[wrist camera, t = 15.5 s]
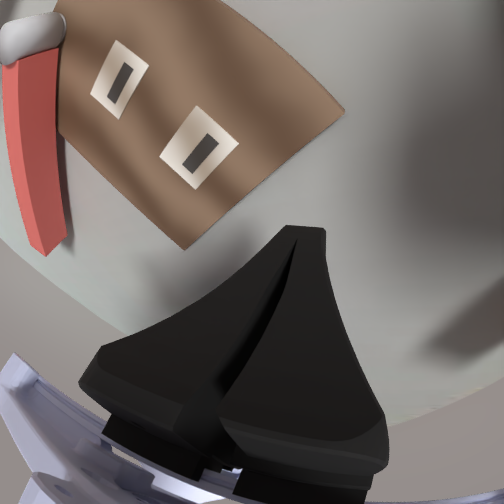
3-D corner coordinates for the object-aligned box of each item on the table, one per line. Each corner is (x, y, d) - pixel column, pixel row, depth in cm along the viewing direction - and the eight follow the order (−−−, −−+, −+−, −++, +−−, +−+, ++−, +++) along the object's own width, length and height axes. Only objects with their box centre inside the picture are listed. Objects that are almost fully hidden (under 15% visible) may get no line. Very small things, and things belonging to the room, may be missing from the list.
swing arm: (50, 224, 29) (26, 246, 26) (42, 12, 12) (-1, 23, 9) (69, 236, 29) (44, 261, 26) (66, 10, 12) (18, 20, 9)
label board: (189, 243, 26) (183, 252, 25) (33, 94, 20) (24, 98, 19) (345, 110, 15) (344, 114, 14) (100, -61, 8) (89, -62, 8)
